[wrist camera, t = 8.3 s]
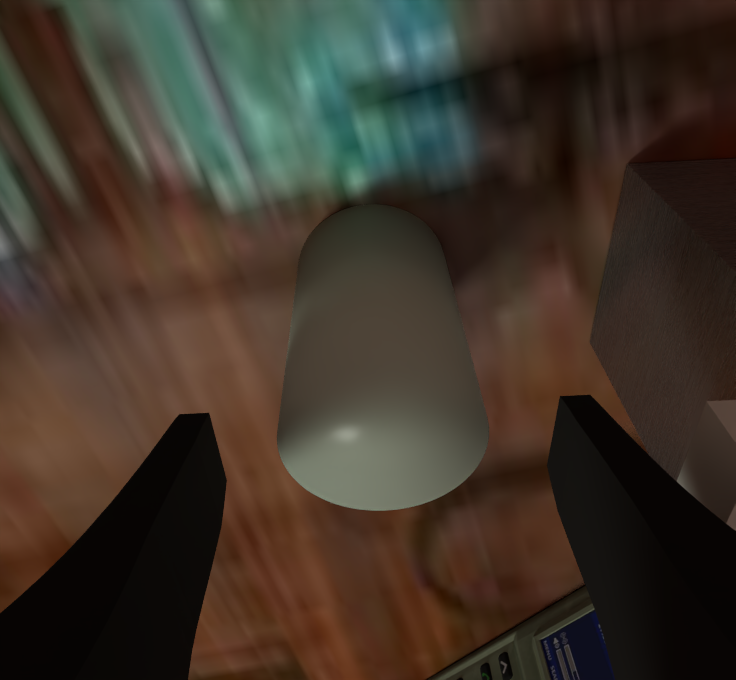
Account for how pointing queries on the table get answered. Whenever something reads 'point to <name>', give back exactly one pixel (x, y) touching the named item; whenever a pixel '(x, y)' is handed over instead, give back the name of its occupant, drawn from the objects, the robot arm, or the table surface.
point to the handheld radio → (543, 648)
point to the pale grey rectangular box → (713, 461)
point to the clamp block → (671, 300)
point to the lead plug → (378, 367)
